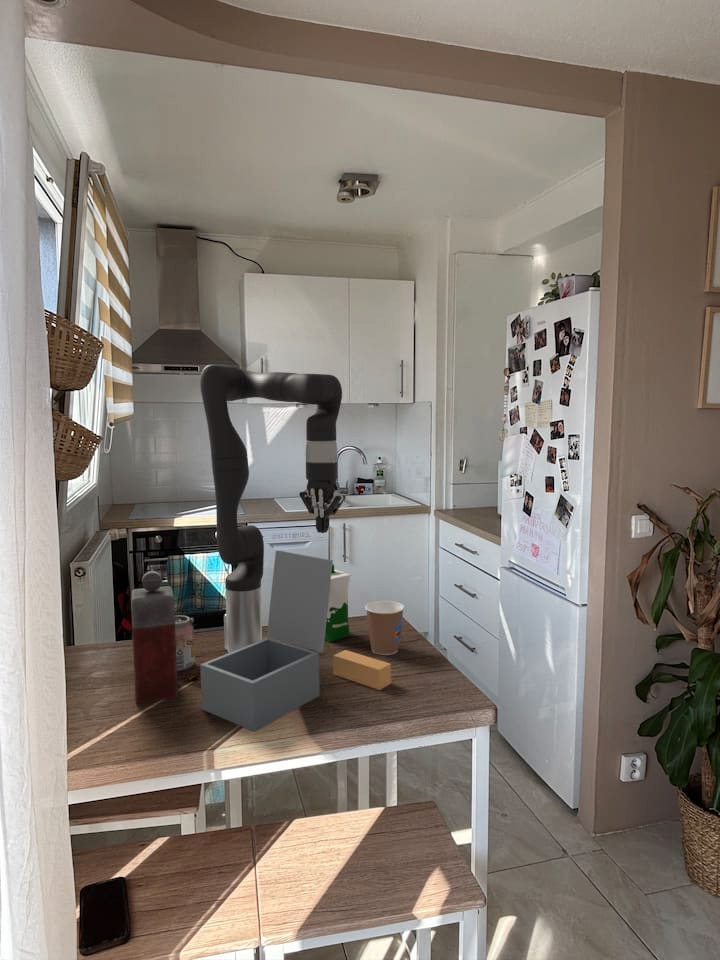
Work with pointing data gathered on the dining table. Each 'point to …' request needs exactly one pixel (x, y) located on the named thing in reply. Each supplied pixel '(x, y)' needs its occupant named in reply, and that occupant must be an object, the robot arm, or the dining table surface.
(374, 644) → the coffee cup
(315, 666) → the box
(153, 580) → the decanter
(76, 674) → the dining table surface
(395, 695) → the dining table surface
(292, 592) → the lid
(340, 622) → the milk carton
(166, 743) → the dining table surface
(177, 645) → the beverage can
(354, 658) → the light orange bar
